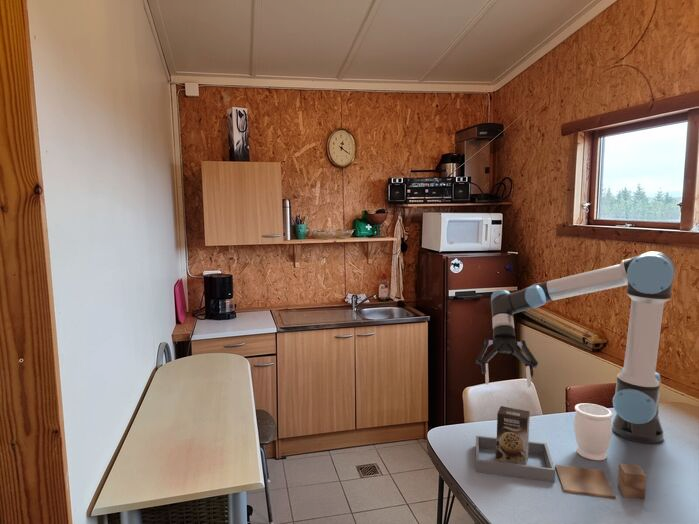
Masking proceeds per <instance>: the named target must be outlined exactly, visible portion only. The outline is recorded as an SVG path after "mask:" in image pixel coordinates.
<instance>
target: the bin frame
mask: <svg viewBox="0 0 699 524" xmlns="http://www.w3.org/2000/svg"><path fill="white" fill-rule="evenodd" d="M496 443H497V437H494V436H493V437H491V436H483V435H482V436H481V435H475V467H476V468H475V471H476V472H477V473H485V474H493V475H500V476H501V475H502V476H507V477H516V478H523V479H532V480H540V481H547V482H553V483H555V481H556V467H555V465H554V462H553V459H552V456H551V453H550V450H549V446H548V443H547V442H539V441H538V442H537V441H529V443H528V454H536V455H543V456H544V460H545V463H546V466H547V467H544V466H536V465H535V466H534V465H528V464H527V465H520V464H512V463H503V462H496V460H495V461H493V460H486V459H484V460H483V459H480V448H481V449H482V448H483V449H491V450H492V449H493V450H496Z"/></svg>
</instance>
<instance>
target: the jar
mask: <svg viewBox="0 0 699 524" xmlns="http://www.w3.org/2000/svg"><path fill="white" fill-rule="evenodd" d="M574 410H575V416H574V421H573V422H574V423H573V429H574V436H575V437H574V438H575V441H576V444H577V448H576V452H577V454H578V455H579V456H581V457H583V458H585V459H588V460H592V461H604V460H605V459H607V457H608V456H607V453H606V452H607V450H608V449H609V446H610V441H611V439H612V432H613V429H612V425H613V424H612V421H611V420H612V419H611V418H612V417H613V412H612V411H611V410H610V409H609V408H607V407H605V406H603V405H599V404H595V403H587V402H586V403H584V402H583V403H582V402H581V403H577V404H576V405H574Z"/></svg>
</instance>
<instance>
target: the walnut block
mask: <svg viewBox="0 0 699 524" xmlns="http://www.w3.org/2000/svg"><path fill="white" fill-rule="evenodd" d="M617 478H618V479H617V481H618V482H617V488H618V489H619V491H620V493H621V495H622V496H623V498H627V499H634V500H641V501H642V500H645V498H646V481H647V474H646V473H645V472H644V470H643V469H642V467H641V466H640V465H638V464H629V463H622V462H621V463H620V462H619V463H618V477H617Z"/></svg>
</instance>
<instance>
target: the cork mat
mask: <svg viewBox="0 0 699 524" xmlns="http://www.w3.org/2000/svg"><path fill="white" fill-rule="evenodd" d="M554 468H555V471H556V473H557V476H558V479H559V482H560V484H561V488H562V491H563V492H564V493H572V494H580V495H587V496H596V497H602V498H611V499H616V494H615V492H614V490H613V488H612V486H611V484H610V482H609V481H608V479H607V476H606V474H605V472H604V470H602V469H596V468H595V469H593V468H585V467H578V466H570V465H569V466H568V465H560V464H555V465H554Z"/></svg>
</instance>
